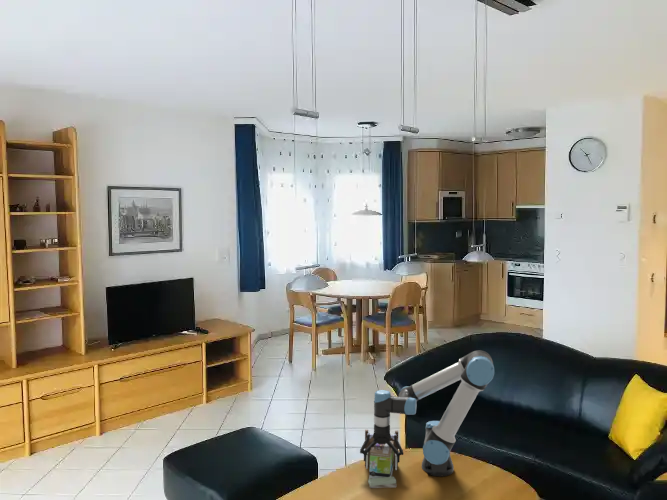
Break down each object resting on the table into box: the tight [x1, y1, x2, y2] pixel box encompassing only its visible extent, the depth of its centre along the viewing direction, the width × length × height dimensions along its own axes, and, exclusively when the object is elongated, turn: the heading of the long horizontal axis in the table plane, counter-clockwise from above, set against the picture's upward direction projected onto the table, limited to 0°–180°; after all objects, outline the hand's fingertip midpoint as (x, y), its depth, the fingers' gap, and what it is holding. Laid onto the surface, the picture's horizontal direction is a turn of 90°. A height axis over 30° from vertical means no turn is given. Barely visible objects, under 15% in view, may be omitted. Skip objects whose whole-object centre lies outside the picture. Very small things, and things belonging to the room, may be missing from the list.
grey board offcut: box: [368, 482, 398, 489], centre depth 249 cm, size 12×4×2 cm, turn 93°
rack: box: [364, 429, 399, 468], centre depth 269 cm, size 16×2×18 cm, turn 85°
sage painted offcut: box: [367, 475, 397, 487], centre depth 249 cm, size 12×4×2 cm, turn 102°
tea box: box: [368, 441, 394, 479], centre depth 260 cm, size 15×10×15 cm, turn 168°
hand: (381, 468), depth 260 cm, fingers open, 13 cm apart
